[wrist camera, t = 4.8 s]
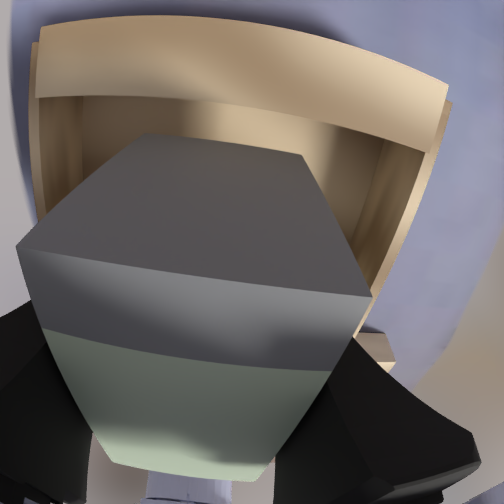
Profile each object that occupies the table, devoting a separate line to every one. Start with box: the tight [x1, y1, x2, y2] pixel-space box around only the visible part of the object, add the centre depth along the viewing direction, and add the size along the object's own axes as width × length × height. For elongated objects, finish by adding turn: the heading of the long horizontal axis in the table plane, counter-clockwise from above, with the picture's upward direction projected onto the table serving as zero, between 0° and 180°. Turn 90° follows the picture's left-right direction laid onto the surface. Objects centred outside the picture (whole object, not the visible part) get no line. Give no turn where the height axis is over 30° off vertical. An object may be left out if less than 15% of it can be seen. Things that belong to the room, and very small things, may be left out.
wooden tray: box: [28, 15, 452, 339], centre depth 13 cm, size 15×14×4 cm
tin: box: [16, 133, 373, 482], centre depth 8 cm, size 8×4×6 cm, turn 170°
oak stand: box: [355, 332, 396, 373], centre depth 20 cm, size 6×6×2 cm
